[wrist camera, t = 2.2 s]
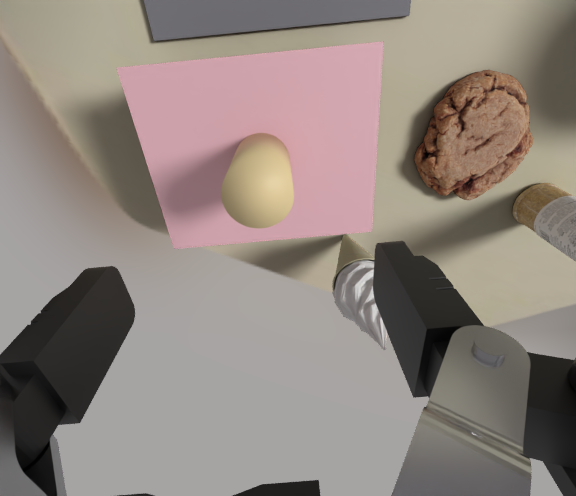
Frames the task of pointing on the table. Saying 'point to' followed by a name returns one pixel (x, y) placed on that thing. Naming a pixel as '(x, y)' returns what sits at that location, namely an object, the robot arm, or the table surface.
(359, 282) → the ice cream cone
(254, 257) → the table surface
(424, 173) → the cookie
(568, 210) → the sprinkles bottle
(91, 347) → the robot arm
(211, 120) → the lid
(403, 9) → the mat
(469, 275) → the table surface
